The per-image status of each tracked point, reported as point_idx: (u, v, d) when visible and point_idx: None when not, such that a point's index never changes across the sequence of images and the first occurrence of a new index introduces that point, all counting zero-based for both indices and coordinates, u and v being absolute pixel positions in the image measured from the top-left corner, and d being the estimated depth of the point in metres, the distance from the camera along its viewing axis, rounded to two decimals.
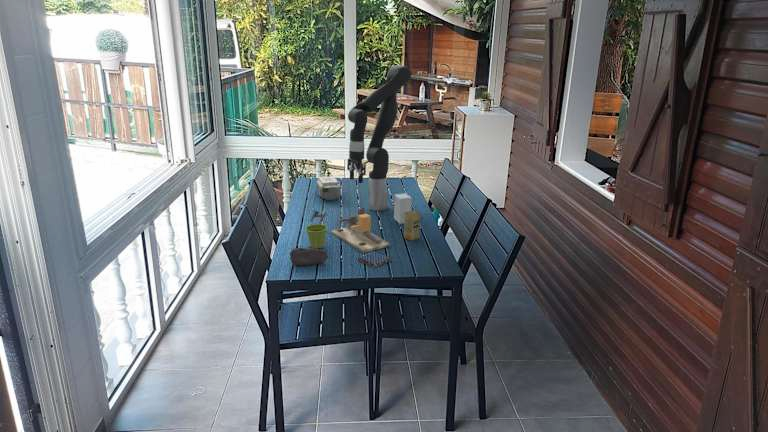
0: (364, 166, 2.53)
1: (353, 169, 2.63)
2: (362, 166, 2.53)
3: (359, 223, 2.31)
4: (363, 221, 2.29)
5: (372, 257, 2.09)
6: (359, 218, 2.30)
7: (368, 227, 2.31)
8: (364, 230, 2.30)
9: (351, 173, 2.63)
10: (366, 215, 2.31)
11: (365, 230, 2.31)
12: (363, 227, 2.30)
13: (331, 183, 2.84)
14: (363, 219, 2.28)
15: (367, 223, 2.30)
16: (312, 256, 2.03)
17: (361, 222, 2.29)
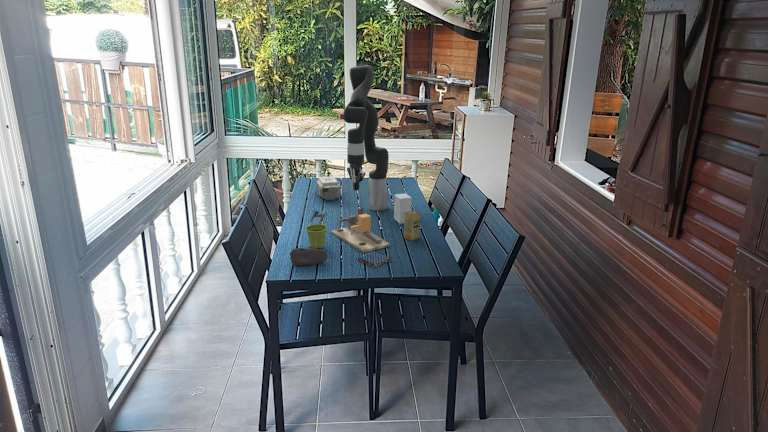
0: (363, 176, 2.26)
1: (356, 178, 2.32)
2: (361, 176, 2.25)
3: (359, 223, 2.31)
4: (363, 221, 2.29)
5: (372, 257, 2.09)
6: (359, 218, 2.30)
7: (368, 227, 2.31)
8: (364, 230, 2.30)
9: None
10: (366, 215, 2.31)
11: (365, 230, 2.31)
12: (363, 227, 2.30)
13: (331, 183, 2.84)
14: (363, 219, 2.28)
15: (367, 223, 2.30)
16: (312, 256, 2.03)
17: (361, 222, 2.29)
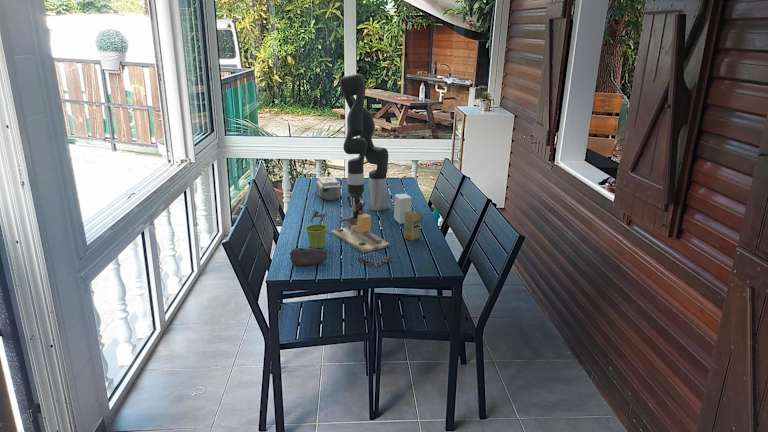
0: (363, 205, 2.31)
1: (356, 206, 2.36)
2: (360, 205, 2.30)
3: (359, 223, 2.31)
4: (363, 221, 2.29)
5: (372, 257, 2.09)
6: (359, 218, 2.30)
7: (368, 227, 2.31)
8: (364, 230, 2.30)
9: None
10: (366, 215, 2.31)
11: (365, 230, 2.31)
12: (363, 227, 2.30)
13: (331, 183, 2.84)
14: (363, 219, 2.28)
15: (367, 223, 2.30)
16: (312, 256, 2.03)
17: (361, 222, 2.29)
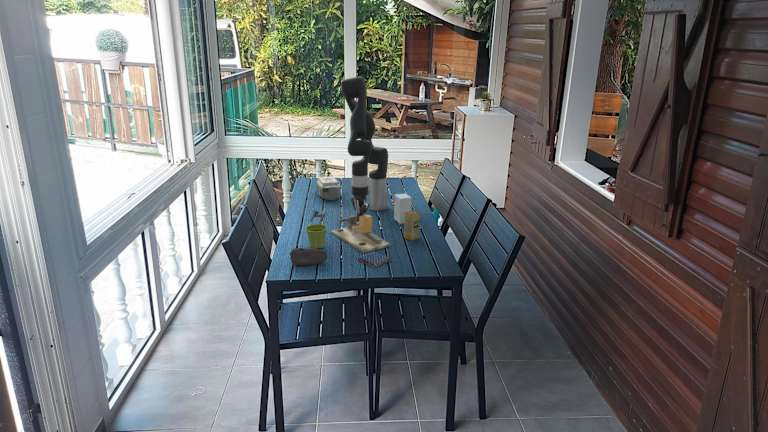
0: (367, 207, 2.28)
1: (360, 208, 2.33)
2: (365, 208, 2.27)
3: (360, 224, 2.30)
4: (364, 222, 2.28)
5: (372, 257, 2.09)
6: (360, 219, 2.29)
7: (369, 228, 2.30)
8: (365, 231, 2.30)
9: None
10: (367, 216, 2.30)
11: (366, 230, 2.30)
12: (365, 228, 2.29)
13: (331, 183, 2.84)
14: (364, 219, 2.27)
15: (368, 224, 2.29)
16: (312, 256, 2.03)
17: (362, 223, 2.28)
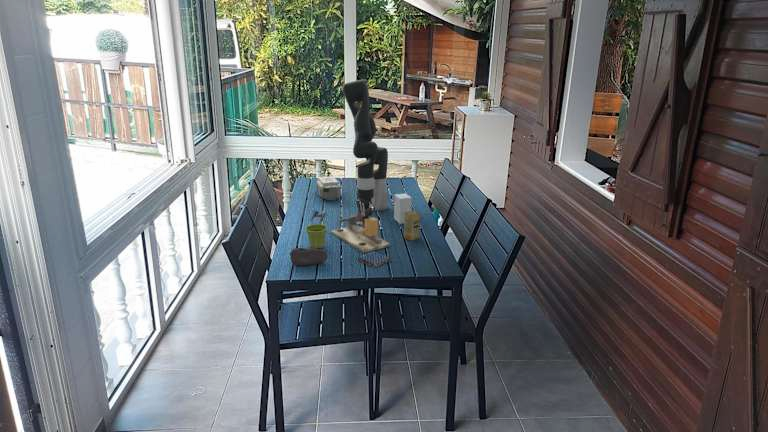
0: (372, 210, 2.24)
1: (365, 211, 2.30)
2: (370, 210, 2.23)
3: (366, 227, 2.26)
4: (370, 225, 2.24)
5: (372, 257, 2.09)
6: (366, 222, 2.26)
7: (375, 231, 2.27)
8: (371, 234, 2.26)
9: None
10: (373, 219, 2.26)
11: (372, 234, 2.26)
12: (370, 231, 2.25)
13: (332, 183, 2.84)
14: (370, 222, 2.24)
15: (374, 227, 2.26)
16: (312, 256, 2.03)
17: (368, 226, 2.25)
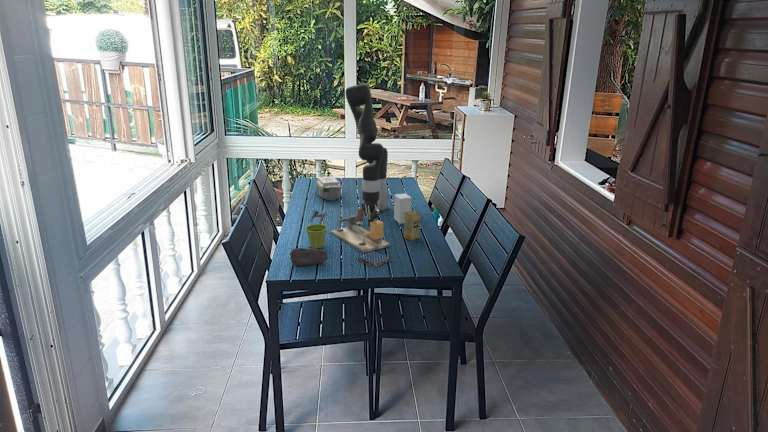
0: (378, 213, 2.20)
1: (371, 214, 2.26)
2: (376, 213, 2.20)
3: (371, 230, 2.23)
4: (376, 228, 2.21)
5: (372, 257, 2.09)
6: (371, 225, 2.22)
7: (381, 234, 2.23)
8: (377, 237, 2.22)
9: None
10: (379, 222, 2.23)
11: (378, 237, 2.23)
12: (376, 234, 2.22)
13: (332, 183, 2.84)
14: (375, 225, 2.20)
15: (380, 230, 2.22)
16: (312, 256, 2.03)
17: (373, 229, 2.21)
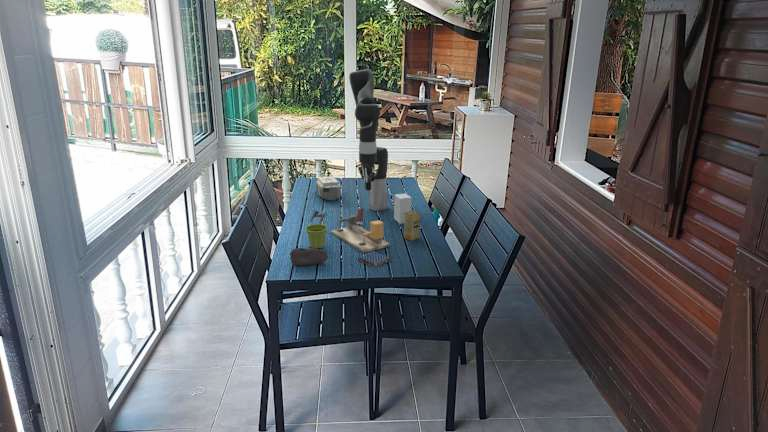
0: (375, 175, 2.19)
1: (368, 177, 2.25)
2: (373, 175, 2.18)
3: (371, 230, 2.23)
4: (376, 228, 2.21)
5: (372, 257, 2.09)
6: (371, 225, 2.22)
7: (381, 234, 2.23)
8: (377, 237, 2.22)
9: None
10: (379, 222, 2.23)
11: (378, 237, 2.23)
12: (376, 234, 2.22)
13: (331, 183, 2.84)
14: (375, 225, 2.20)
15: (380, 230, 2.22)
16: (312, 256, 2.03)
17: (374, 229, 2.21)
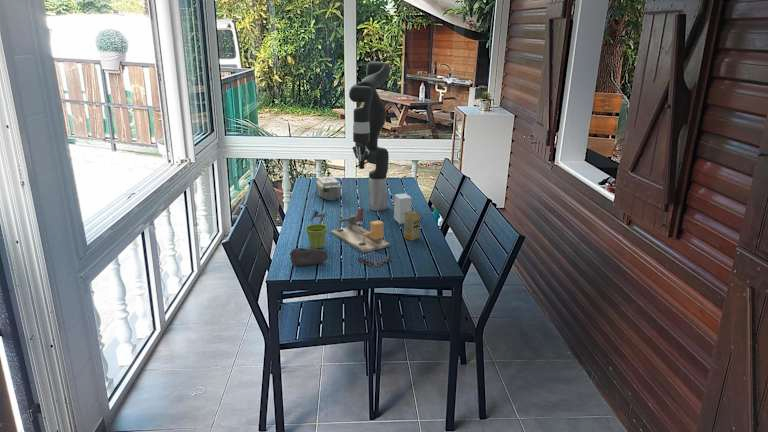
0: (368, 154, 2.31)
1: (362, 156, 2.36)
2: (366, 154, 2.30)
3: (371, 230, 2.23)
4: (376, 228, 2.21)
5: (372, 257, 2.09)
6: (371, 225, 2.22)
7: (381, 234, 2.23)
8: (377, 237, 2.22)
9: None
10: (379, 222, 2.23)
11: (378, 237, 2.23)
12: (376, 234, 2.22)
13: (332, 183, 2.84)
14: (375, 225, 2.20)
15: (380, 230, 2.22)
16: (312, 256, 2.03)
17: (374, 229, 2.21)
